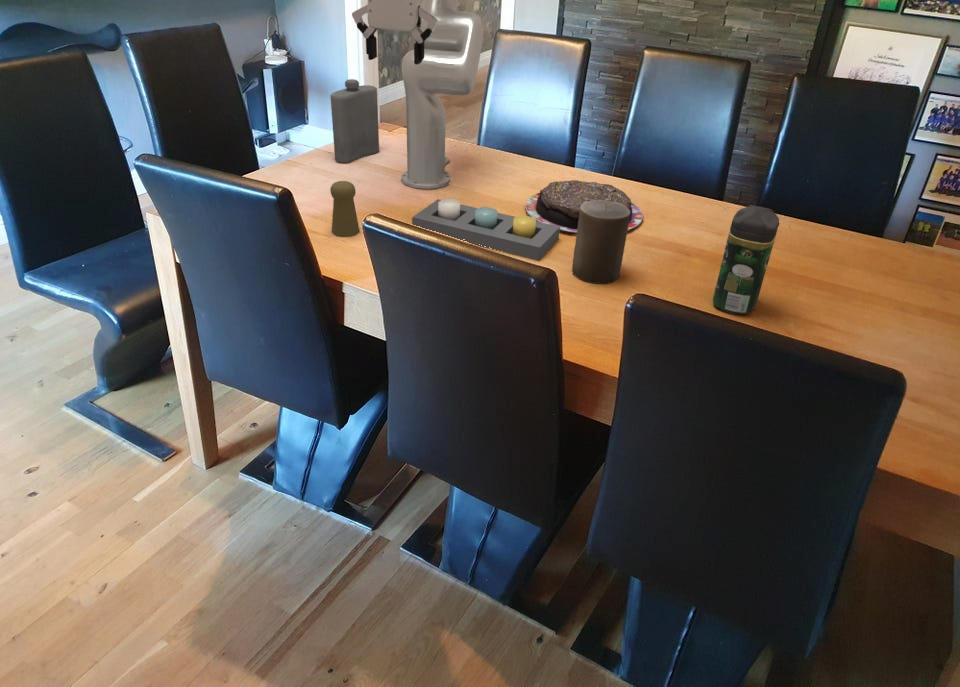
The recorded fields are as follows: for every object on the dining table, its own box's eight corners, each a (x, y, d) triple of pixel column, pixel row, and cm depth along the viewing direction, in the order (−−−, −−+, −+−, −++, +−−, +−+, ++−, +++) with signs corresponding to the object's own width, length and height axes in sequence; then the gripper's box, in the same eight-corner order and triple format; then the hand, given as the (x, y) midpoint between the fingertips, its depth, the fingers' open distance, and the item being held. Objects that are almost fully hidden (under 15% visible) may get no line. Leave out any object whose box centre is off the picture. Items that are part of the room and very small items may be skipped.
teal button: (480, 220, 158) (481, 205, 156) (500, 224, 156) (500, 210, 155) (470, 227, 154) (471, 213, 153) (490, 232, 153) (491, 217, 151)
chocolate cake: (598, 186, 185) (601, 162, 182) (667, 228, 165) (672, 201, 161) (503, 201, 174) (505, 175, 171) (564, 248, 154) (567, 219, 150)
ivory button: (444, 211, 161) (444, 197, 159) (463, 216, 160) (463, 201, 158) (434, 219, 157) (434, 204, 156) (453, 223, 156) (453, 209, 154)
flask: (367, 147, 203) (364, 74, 192) (382, 151, 200) (380, 77, 189) (329, 160, 192) (323, 83, 181) (344, 165, 190) (339, 87, 179)
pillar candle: (608, 289, 138) (620, 216, 130) (562, 274, 142) (572, 203, 134) (627, 270, 145) (640, 201, 137) (583, 257, 149) (593, 189, 141)
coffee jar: (717, 287, 140) (740, 198, 130) (759, 298, 137) (785, 207, 127) (706, 309, 133) (730, 216, 123) (750, 320, 130) (777, 226, 120)
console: (437, 211, 166) (438, 199, 165) (558, 239, 156) (560, 226, 154) (412, 229, 157) (411, 217, 155) (538, 260, 147) (539, 247, 145)
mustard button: (517, 228, 155) (518, 214, 153) (538, 233, 153) (539, 218, 152) (508, 236, 151) (509, 221, 150) (529, 241, 150) (531, 226, 148)
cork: (354, 238, 152) (351, 189, 146) (327, 235, 153) (323, 186, 147) (363, 227, 157) (361, 179, 151) (337, 224, 158) (334, 176, 152)
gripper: (443, -34, 136) (441, 61, 145) (358, -40, 139) (361, 53, 148) (431, -30, 130) (431, 68, 139) (342, -37, 133) (347, 60, 142)
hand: (395, 60), depth 143 cm, fingers open, 9 cm apart
